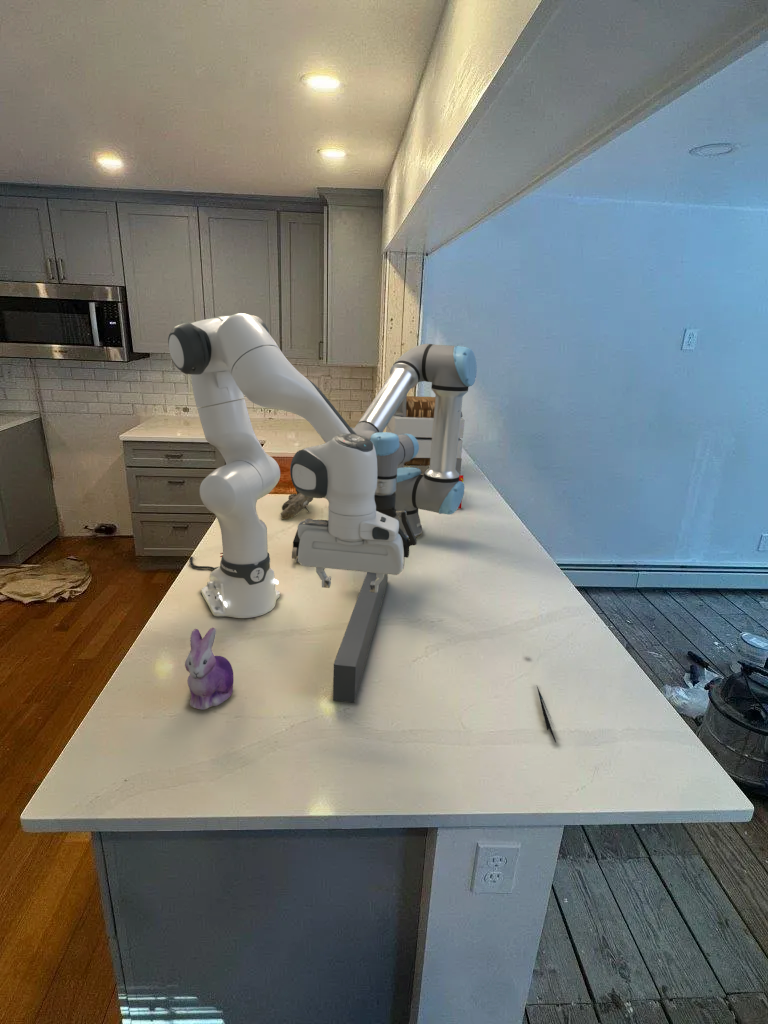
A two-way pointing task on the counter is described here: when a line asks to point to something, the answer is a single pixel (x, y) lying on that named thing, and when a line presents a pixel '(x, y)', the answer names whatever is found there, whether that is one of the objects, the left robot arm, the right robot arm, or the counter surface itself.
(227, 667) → the figurine
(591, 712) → the counter surface
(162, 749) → the counter surface
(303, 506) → the fossil
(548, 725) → the feather
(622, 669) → the counter surface
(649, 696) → the counter surface
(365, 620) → the beam
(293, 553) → the figurine character
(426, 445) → the white slatted crate
